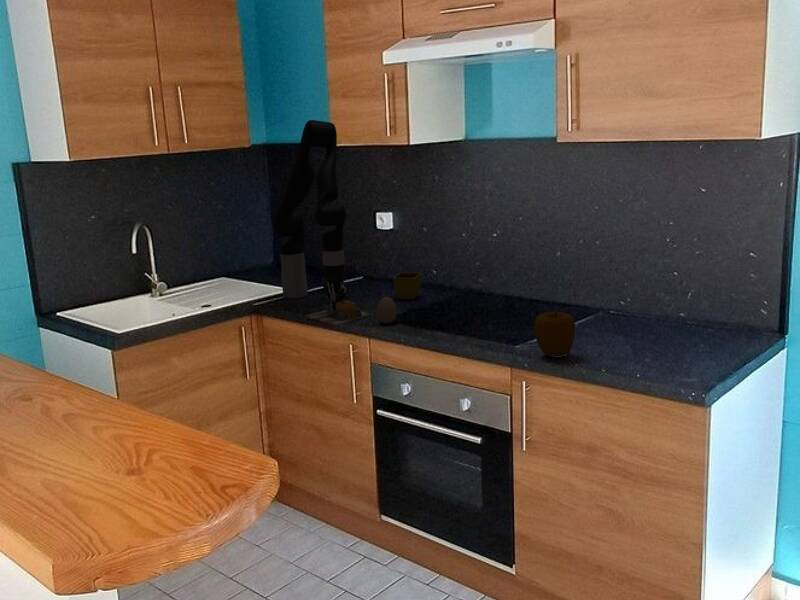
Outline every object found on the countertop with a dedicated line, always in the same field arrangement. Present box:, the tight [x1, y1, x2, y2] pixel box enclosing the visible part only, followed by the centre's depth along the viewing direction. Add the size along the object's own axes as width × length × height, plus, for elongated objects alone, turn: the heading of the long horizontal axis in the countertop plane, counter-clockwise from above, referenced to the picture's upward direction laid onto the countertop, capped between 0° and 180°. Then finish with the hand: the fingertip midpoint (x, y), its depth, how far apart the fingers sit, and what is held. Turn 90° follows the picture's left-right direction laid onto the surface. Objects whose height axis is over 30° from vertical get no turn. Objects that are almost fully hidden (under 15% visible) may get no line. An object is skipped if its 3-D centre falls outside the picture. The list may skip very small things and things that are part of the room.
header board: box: [305, 305, 373, 326], centre depth 281 cm, size 18×16×5 cm
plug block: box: [336, 299, 356, 319], centre depth 277 cm, size 6×4×6 cm, turn 40°
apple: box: [534, 311, 576, 356], centre depth 223 cm, size 11×11×13 cm
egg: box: [376, 296, 398, 325], centre depth 267 cm, size 7×7×9 cm
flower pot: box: [392, 272, 422, 301], centre depth 301 cm, size 9×9×9 cm
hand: (336, 310), depth 282 cm, fingers closed
